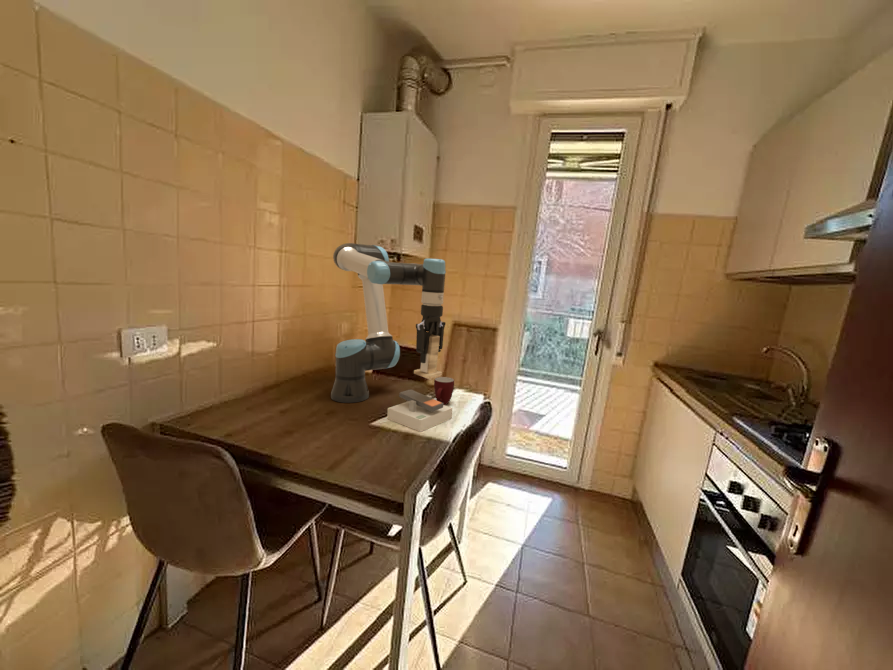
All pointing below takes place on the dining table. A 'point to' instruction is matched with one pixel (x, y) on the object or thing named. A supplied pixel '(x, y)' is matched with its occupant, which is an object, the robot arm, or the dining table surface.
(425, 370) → the robot arm
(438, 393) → the mug
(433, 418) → the switch box
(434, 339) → the wooden post with base
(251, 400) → the dining table surface
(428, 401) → the rocker
